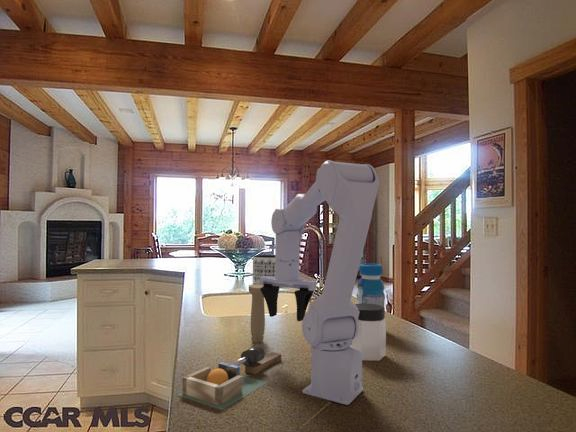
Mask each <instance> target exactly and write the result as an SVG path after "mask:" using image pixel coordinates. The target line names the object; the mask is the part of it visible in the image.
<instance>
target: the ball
mask: <svg viewBox="0 0 576 432" xmlns="http://www.w3.org/2000/svg"><path fill="white" fill-rule="evenodd" d="M226 381H228V375H227V373H226V372H225V371H224V370H223V369H219V368H214V369H212V370H211V372H210V373H209V375H208V377H207V382H210V383H213V384H217V385H220V384H222V383H224V382H226Z"/></svg>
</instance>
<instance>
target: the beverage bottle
mask: <svg viewBox="0 0 576 432" xmlns="http://www.w3.org/2000/svg"><path fill="white" fill-rule="evenodd" d="M359 275H360V276H361V277H360V279H359V280H358V282H357V285H356V288H357V292H356V301H357V302H356V304H361V303H367V304H376V305H381V306H383V307H384V308H385V300H386V295H385V292H384V291H385V287H386V286H385V284H384V281H383V279H381V277H382V276H383V265H382V264H380V263H379V264H378V263H360V265H359Z"/></svg>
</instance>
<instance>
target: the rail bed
mask: <svg viewBox="0 0 576 432" xmlns="http://www.w3.org/2000/svg"><path fill="white" fill-rule="evenodd" d="M281 361H282V353H279V352H273V351H271V352H269V353H267V354H265V356H264V358H263V360H261V361H259V362H257V363H255V364H253V365H251V366H248V367H247V366H245V365H244V372H245V373H248V374H251V375H257V374H258V373H260V372H262V371H264V370H265V369H267V368H269V367H271V366H273V365H274V364H278V363H280V362H281Z"/></svg>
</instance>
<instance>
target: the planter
mask: <svg viewBox="0 0 576 432" xmlns="http://www.w3.org/2000/svg"><path fill="white" fill-rule="evenodd" d="M262 276H269V277H275V254H256V255H253V256H252V284H253V285H255V284H260V277H262Z"/></svg>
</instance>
